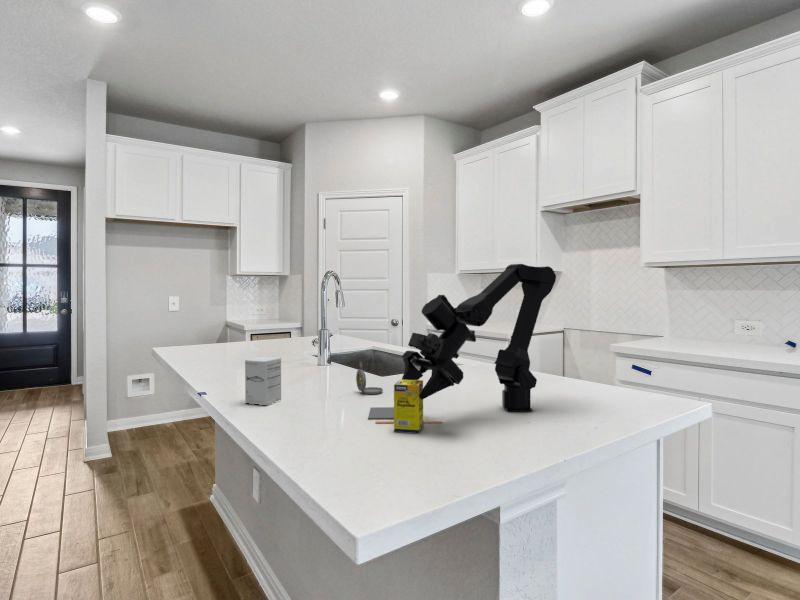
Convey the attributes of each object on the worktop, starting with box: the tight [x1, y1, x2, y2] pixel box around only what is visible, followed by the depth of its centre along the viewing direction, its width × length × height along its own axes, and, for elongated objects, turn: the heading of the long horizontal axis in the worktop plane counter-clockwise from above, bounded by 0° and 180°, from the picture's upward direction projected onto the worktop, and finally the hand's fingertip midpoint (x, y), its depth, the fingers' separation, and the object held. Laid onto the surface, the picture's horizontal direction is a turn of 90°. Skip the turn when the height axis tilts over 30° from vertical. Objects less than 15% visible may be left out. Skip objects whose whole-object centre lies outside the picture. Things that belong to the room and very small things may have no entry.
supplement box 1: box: [244, 356, 282, 406], centre depth 135 cm, size 7×7×13 cm
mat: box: [367, 406, 394, 421], centre depth 122 cm, size 12×10×1 cm
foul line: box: [375, 420, 443, 425], centre depth 114 cm, size 16×1×1 cm, turn 90°
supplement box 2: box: [393, 379, 424, 434], centre depth 109 cm, size 6×6×11 cm
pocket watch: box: [355, 361, 384, 395], centre depth 146 cm, size 8×8×10 cm
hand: (409, 394), depth 109 cm, fingers open, 9 cm apart
